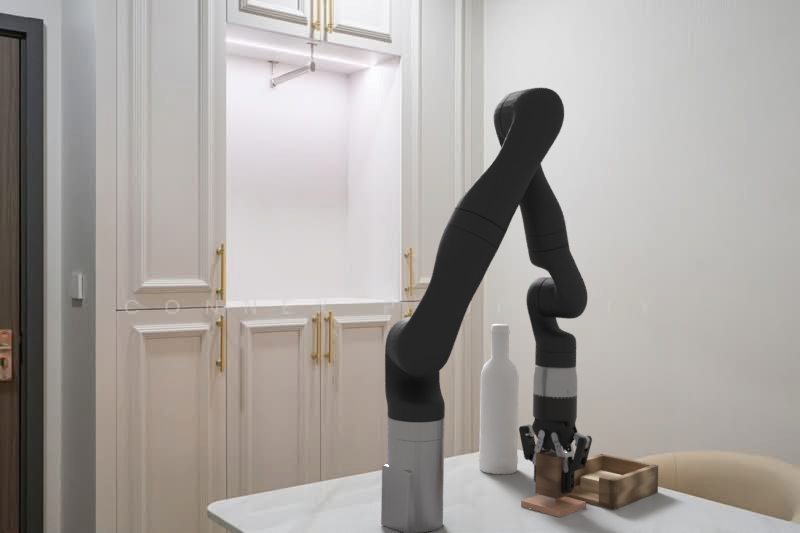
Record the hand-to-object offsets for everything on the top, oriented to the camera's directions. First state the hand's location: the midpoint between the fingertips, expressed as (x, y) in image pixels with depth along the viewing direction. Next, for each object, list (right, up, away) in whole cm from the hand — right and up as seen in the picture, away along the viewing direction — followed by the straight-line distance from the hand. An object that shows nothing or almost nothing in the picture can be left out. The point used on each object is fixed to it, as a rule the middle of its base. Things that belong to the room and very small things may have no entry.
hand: (553, 489), depth 133 cm
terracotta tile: (0, -3, 0) cm, 3 cm away
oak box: (+12, -3, +9) cm, 15 cm away
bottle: (-7, -3, +24) cm, 26 cm away
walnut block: (0, -1, 0) cm, 1 cm away
